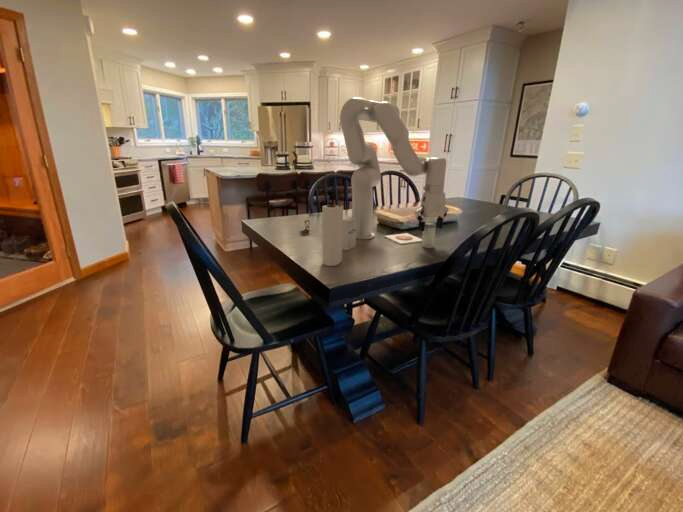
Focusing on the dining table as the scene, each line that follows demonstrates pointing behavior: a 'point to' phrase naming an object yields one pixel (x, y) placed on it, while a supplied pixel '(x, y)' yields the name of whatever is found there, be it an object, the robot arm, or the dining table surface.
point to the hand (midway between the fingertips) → (430, 229)
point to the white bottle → (349, 233)
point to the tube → (428, 235)
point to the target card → (404, 238)
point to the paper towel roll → (332, 234)
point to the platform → (307, 223)
